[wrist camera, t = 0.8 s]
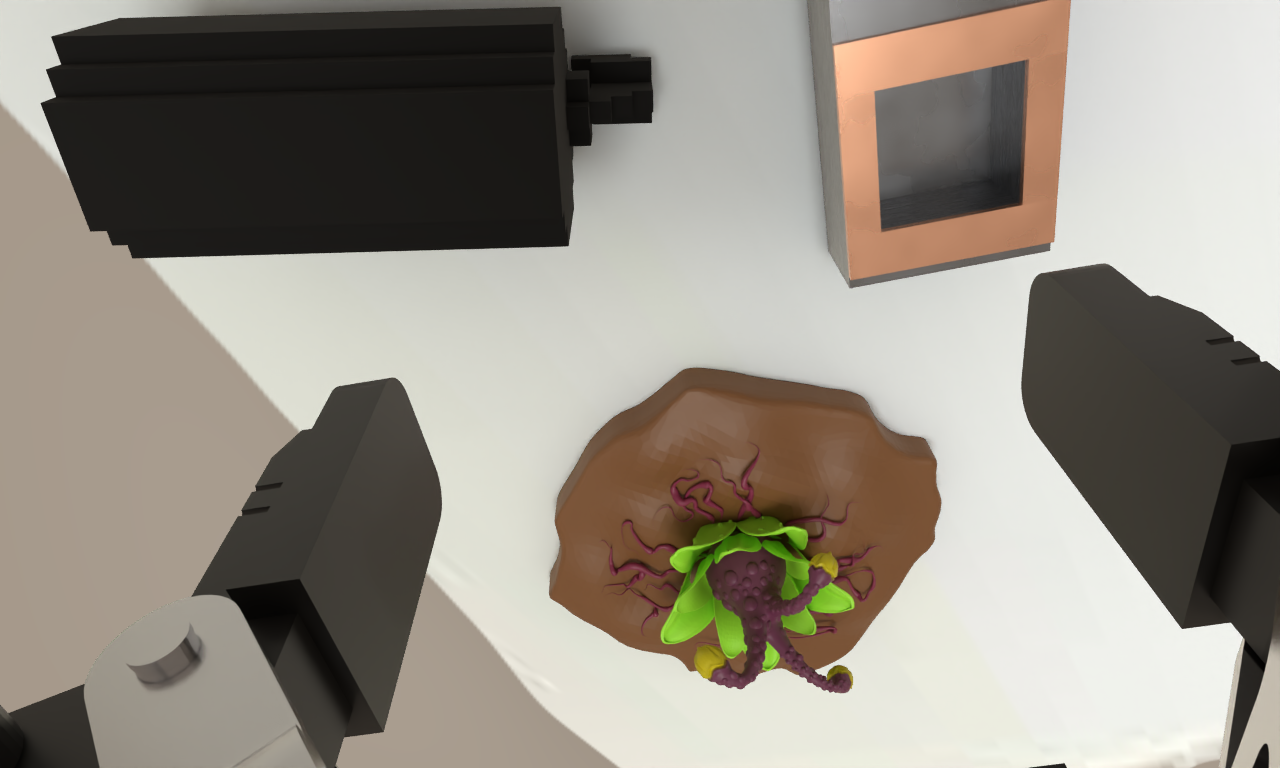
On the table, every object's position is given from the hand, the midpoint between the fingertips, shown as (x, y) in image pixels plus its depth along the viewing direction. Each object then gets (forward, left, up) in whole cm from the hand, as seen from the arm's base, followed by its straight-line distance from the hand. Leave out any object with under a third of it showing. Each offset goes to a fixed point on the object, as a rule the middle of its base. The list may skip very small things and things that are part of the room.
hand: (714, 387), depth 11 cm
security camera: (0, -9, -26) cm, 27 cm away
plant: (+25, 0, -26) cm, 36 cm away
